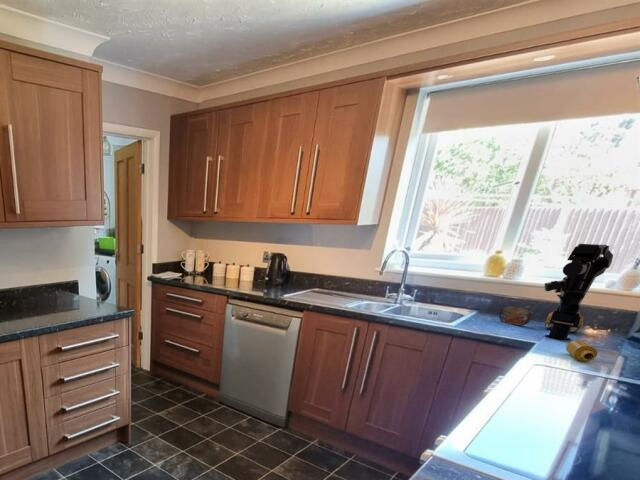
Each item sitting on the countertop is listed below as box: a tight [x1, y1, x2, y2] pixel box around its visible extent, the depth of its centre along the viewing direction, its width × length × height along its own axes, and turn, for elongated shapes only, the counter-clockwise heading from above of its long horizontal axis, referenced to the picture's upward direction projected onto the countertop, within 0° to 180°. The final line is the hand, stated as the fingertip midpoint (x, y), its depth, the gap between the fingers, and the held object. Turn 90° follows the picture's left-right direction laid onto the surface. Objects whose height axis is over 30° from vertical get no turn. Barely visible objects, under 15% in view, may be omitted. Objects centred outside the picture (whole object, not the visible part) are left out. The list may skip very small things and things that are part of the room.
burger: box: [544, 311, 584, 333], centre depth 208 cm, size 14×14×10 cm
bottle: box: [565, 339, 598, 363], centre depth 162 cm, size 6×6×15 cm
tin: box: [498, 305, 533, 326], centre depth 218 cm, size 15×3×8 cm, turn 6°
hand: (560, 312), depth 182 cm, fingers closed
